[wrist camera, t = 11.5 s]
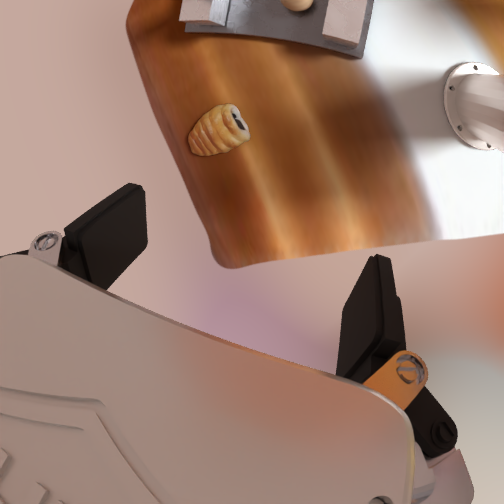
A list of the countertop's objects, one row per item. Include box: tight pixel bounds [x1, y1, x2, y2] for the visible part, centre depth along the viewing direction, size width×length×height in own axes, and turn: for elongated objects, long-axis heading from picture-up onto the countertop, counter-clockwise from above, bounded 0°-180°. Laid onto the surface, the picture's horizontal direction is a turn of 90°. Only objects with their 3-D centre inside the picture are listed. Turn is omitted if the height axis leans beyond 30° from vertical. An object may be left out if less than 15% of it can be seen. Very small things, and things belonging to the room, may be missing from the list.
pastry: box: [188, 103, 250, 156], centre depth 38 cm, size 9×7×4 cm
